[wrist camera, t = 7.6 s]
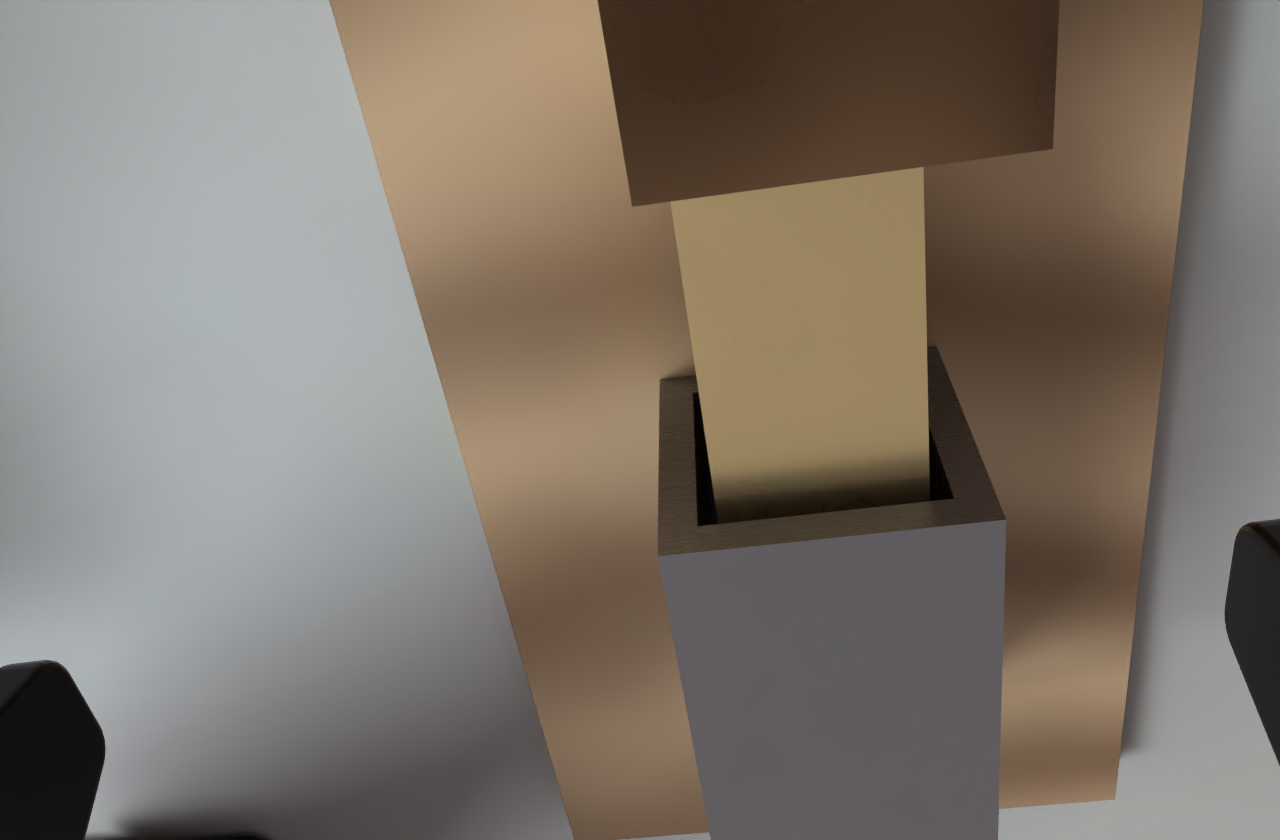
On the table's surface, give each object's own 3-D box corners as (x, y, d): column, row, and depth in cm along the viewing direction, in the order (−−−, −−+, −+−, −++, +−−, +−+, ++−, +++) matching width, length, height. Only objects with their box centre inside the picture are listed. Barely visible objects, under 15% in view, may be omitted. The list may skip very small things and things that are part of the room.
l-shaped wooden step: (902, 603, 22) (1012, 1040, 15) (741, 618, 23) (774, 1054, 16) (862, -465, 13) (1088, -629, 6) (594, -412, 14) (512, -511, 6)
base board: (1101, 765, 28) (1114, 799, 27) (578, 809, 29) (575, 842, 28) (1267, -908, 13) (1309, -948, 12) (162, -659, 14) (130, -680, 13)
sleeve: (941, 697, 25) (996, 900, 21) (717, 717, 26) (726, 920, 21) (936, 345, 20) (1005, 519, 16) (659, 379, 21) (657, 556, 17)
